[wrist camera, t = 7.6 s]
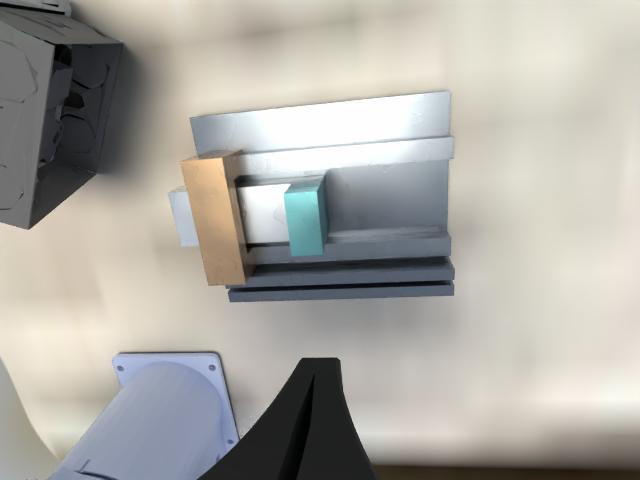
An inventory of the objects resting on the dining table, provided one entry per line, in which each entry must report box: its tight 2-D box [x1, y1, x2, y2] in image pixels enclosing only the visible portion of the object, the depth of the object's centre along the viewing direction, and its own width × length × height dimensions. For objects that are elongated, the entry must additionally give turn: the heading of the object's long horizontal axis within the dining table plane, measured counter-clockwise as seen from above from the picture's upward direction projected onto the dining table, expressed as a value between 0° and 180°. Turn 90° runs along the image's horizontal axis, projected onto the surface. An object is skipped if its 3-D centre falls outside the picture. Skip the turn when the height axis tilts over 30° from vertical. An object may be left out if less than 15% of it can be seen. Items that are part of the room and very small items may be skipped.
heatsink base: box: [180, 91, 455, 302], centre depth 19 cm, size 10×13×4 cm
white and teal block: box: [168, 175, 330, 256], centre depth 19 cm, size 3×8×4 cm, turn 95°
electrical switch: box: [0, 0, 122, 230], centre depth 17 cm, size 9×5×9 cm, turn 155°
